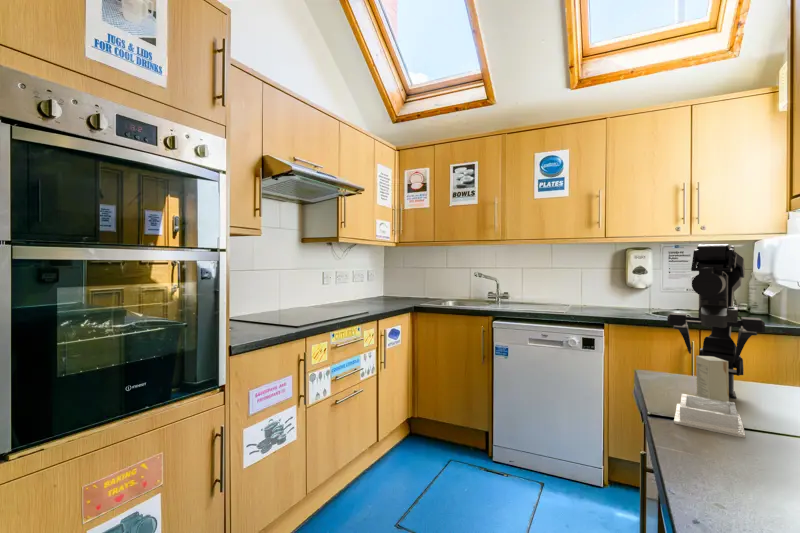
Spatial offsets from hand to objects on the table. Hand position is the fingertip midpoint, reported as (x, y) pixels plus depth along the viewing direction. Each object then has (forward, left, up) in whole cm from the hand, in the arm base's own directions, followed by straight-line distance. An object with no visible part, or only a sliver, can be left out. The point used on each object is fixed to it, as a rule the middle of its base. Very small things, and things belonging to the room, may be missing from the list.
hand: (712, 356), depth 98 cm
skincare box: (0, 0, -13) cm, 13 cm away
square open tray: (+12, -1, -13) cm, 17 cm away
